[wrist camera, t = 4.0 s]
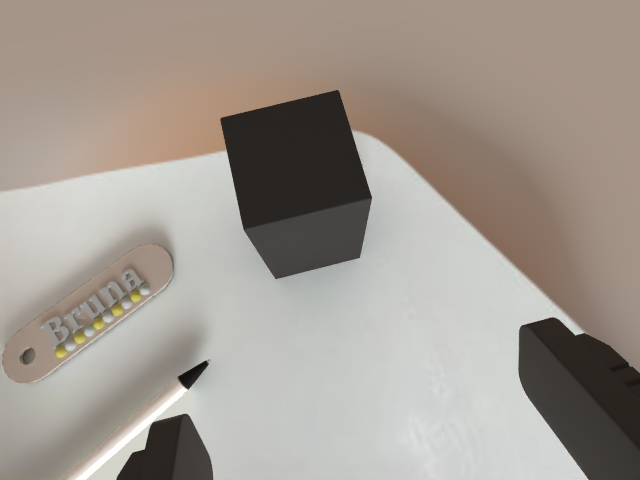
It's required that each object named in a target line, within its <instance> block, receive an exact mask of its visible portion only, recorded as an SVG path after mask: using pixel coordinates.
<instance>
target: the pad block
mask: <svg viewBox="0 0 640 480" xmlns="http://www.w3.org/2000/svg"><path fill="white" fill-rule="evenodd" d="M221 125H222V130H223V134H224V139H225V144H226V149H227V153H228V158H229V163H230V168H231V172H232V177H233V182H234V187H235V191H236V196H237V201H238V206H239V210H240V215H241V220H242V224H243V229H244V231H245V232H246V234H247V236H248V237H249V239H250V240H251V242H252V243H253V245H254V246H255V248H256V249H257V251H258V253H259V254H260V256H261V257H262V259H263V260H264V262H265V263H266V265H267V267H268V268H269V270H270V271H271V273H272V274H273V276H274V277H275V279H278V278H282V277H286V276H289V275H293V274H297V273H301V272H305V271H309V270H313V269H317V268H321V267H325V266H329V265H333V264H337V263H341V262H345V261H349V260H353V259H356V258H360V254H361V249H362V244H363V239H364V234H365V229H366V224H367V219H368V214H369V210H370V205H371V200H372V196H371V193H370V190H369V187H368V184H367V180H366V177H365V174H364V171H363V167H362V164H361V161H360V158H359V154H358V151H357V148H356V145H355V141H354V138H353V135H352V132H351V128H350V125H349V122H348V119H347V116H346V112H345V109H344V106H343V103H342V100H341V97H340V93H339V91H338V90H336V91H332V92H327V93H323V94H319V95H315V96H311V97H307V98H302V99H298V100H294V101H290V102H286V103H281V104H277V105H273V106H269V107H265V108H260V109H256V110H252V111H248V112H244V113H240V114H235V115H231V116H227V117H223V118H221Z"/></svg>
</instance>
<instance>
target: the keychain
mask: <svg viewBox="0 0 640 480" xmlns="http://www.w3.org/2000/svg"><path fill="white" fill-rule="evenodd" d="M173 271H174V264H173V260H172V258H171V255H170V254H169V253H168V252H167V251H166V250H165V249H164V248H162V247H160V246H158V245H156V244H144V245H139V246H137V247H136V248H134V249H132V250H131V251H129V252H128V253H126V254H125V255H124V256H122V257H121V258H119V259H118V260H117V261H115V262H114V263H112V264H111V265H110V266H108V267H107V268H106V269H104V270H103V271H101V272H100V273H99V274H97V275H96V276H94V277H93V278H92V279H90V280H89V281H88V282H86V283H85V284H83V285H82V286H81V287H79V288H78V289H76V290H75V291H74V292H72V293H71V294H69V295H68V296H67V297H65V298H64V299H63V300H61V301H60V302H58V303H57V304H56V305H54V306H53V307H51V308H50V309H49V310H47V311H46V312H45V313H43V314H42V315H40V316H39V317H38V318H36V319H35V320H33V321H32V322H31V323H29V324H28V325H26V326H25V327H24V328H22V329H21V330H20V331H18V332H17V333H16V334H15V335H14V336H13V337H11V338H10V340H9V341H8V343H7V345H6V346H5V349H4V352H3V355H2V365H3V368H4V371H5V373H6V374H7V375H8V377H9V378H10V379H12V380H14V381H16V382H19V383H32V382H37V381H39V380H41V379H43V378H45V377H47V376H48V375H49V374H51V373H52V372H53V371H55V370H56V369H57V368H59V367H60V366H61V365H63V364H64V363H65V362H67V361H68V360H69V359H71V358H72V357H73V356H75V355H76V354H77V353H79V352H80V351H81V350H83V349H84V348H85V347H87V346H88V345H89V344H91V343H92V342H93V341H95V340H96V339H97V338H99V337H100V336H101V335H103V334H104V333H105V332H107V331H108V330H110V329H111V328H112V327H114V326H115V325H116V324H118V323H119V322H120V321H122V320H123V319H124V318H126V317H127V316H128V315H130V314H131V313H132V312H134V311H135V310H136V309H138V308H139V307H140V306H142V305H143V304H144V303H146V302H147V301H148V300H150V299H151V298H152V297H154V296H155V295H156V294H158V293H159V292H160V291H162V290H163V289H164V288H165V287H166V286H167V285H168V284H169V282H170V280H171V278H172V276H173ZM29 348H32V349H34V351H35V358H34V360H33V361H32V362H31V363H30V364H25V363H24V361H23V354H24V352H25V351H26V350H27V349H29Z"/></svg>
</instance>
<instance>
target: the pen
mask: <svg viewBox="0 0 640 480" xmlns="http://www.w3.org/2000/svg"><path fill="white" fill-rule="evenodd" d="M209 362H210V360H208V361H204V362H203V363H201V364H199V365H197V366H196V367H194V368H192V369H190V370H189V371H187V372H185V373H183V374H182V375H180V376H178V377H177V378H176V379H175V380H174V381H172V382H171V383H170V384H169V385H168V386H167V387H165V388H164V389H163V390H162V391H161V392H160V393H158V394H157V395H156V396H155V397H154V398H153V399H151V400H150V401H149V402H148V403H147V404H146V405H144V406H143V407H142V408H141V409H140V410H139V411H137V412H136V413H135V414H134V415H133V416H132V417H130V418H129V419H128V420H127V421H126V422H125V423H124V424H122V425H121V426H120V427H119V428H118V429H117V430H115V431H114V432H113V433H112V434H111V435H110V436H108V437H107V438H106V439H105V440H104V441H103V442H101V443H100V444H99V445H98V446H97V447H96V448H94V449H93V450H92V451H91V452H90V453H89V454H87V455H86V456H85V457H84V458H83V459H82V460H80V461H79V462H78V463H77V464H76V465H75V466H73V467H72V468H71V469H70V470H69V471H68V472H66V473H65V474H64V475H63V476H62V477H61V478H59V479H58V480H85V479H86V478H87V477H89V476H90V475H91V474H92V473H93V472H94V471H96V470H97V469H98V468H99V467H100V466H101V465H102V464H104V463H105V462H106V461H107V460H108V459H109V458H111V457H112V456H113V455H114V454H115V453H116V452H117V451H119V450H120V449H121V448H122V447H123V446H124V445H125V444H127V443H128V442H129V441H130V440H131V439H132V438H134V437H135V436H136V435H137V434H138V433H139V432H140V431H142V430H143V429H144V428H145V427H146V426H147V425H148V424H150V423H151V422H152V421H153V420H154V419H155V418H157V417H158V416H159V415H160V414H161V413H162V412H163V411H165V410H166V409H167V408H168V407H169V406H170V405H172V404H173V403H174V402H175V401H176V400H177V399H178V398H180V397H181V396H182V395H183V394H184V393H185V392H186V391H188V390H189V388H190V387H191V386H192V385H193V383H194V382H195V381H196V380H197V378H198V377H199V376H200V375H201V373H202V372H203V371H204V370H205V368H206V367H207V366H208V364H209Z"/></svg>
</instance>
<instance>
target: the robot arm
mask: <svg viewBox="0 0 640 480" xmlns="http://www.w3.org/2000/svg"><path fill="white" fill-rule="evenodd" d="M519 377H520V381H521V384H522V387H523V389H524V391H525V393H526V395H527V396H528V398H529V399H530V401H531V402H532V403H533V405H534V406H535V407H536V409H537V410H538V411H539V413H540V414H541V415H542V417H543V418H544V420H545V421H546V422H547V424H548V425H549V426H550V428H551V429H552V430H553V432H554V433H555V434H556V436H557V437H558V438H559V440H560V441H561V443H562V444H563V445H564V447H565V448H566V449H567V451H568V452H569V453H570V455H571V456H572V457H573V459H574V460H575V462H576V463H577V464H578V466H579V467H580V468H581V470H582V471H583V472H584V474H585V475H586V476H587V478H588V479H589V480H640V373H639V372H638V371H637V370H635V369H634V368H633V367H630V366H629V364H628V362H627V361H626V360H624V359H623V358H622V357H621V356H620V355H619V354H618V353H617V352H616V351H615V350H613V349H612V348H611V347H610V346H609V345H607V344H605V343H603V342H601V341H599V340H597V339H595V338H593V337H591V336H589V335H587V334H585V333H583V334H579V335H576V336H575V335H574V334H573V333H572V332H571V331H570V330H569V329H568V328H567V327H566V326H565V325H564V324H563V323H562V322H561V321H560V320H558V319H557V318H553V317H552V318H548V319H545V320H541V321H537V322H533V323H530V324H526V325H522V326H521V327H520V330H519ZM117 480H213V471H212V464H211V460H210V456H209V454H208V452H207V450H206V448H205V446H204V444H203V442H202V440H201V438H200V436H199V434H198V432H197V430H196V428H195V426H194V424H193V422H192V420H191V418H190V416H189V415H188V414H182V415H178V416H175V417H171V418H167V419H163V420H159V421H156V422H153V423H152V425H151V427H150V430H149V434H148V438H147V442H146V447H145V450H141V451H137V452H134V453H132V454H131V456H130V457H129V459H128V461H127V462H126V464H125V465H124V467H123V469H122V470H121V472H120V473H119V475H118V476H117Z"/></svg>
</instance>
